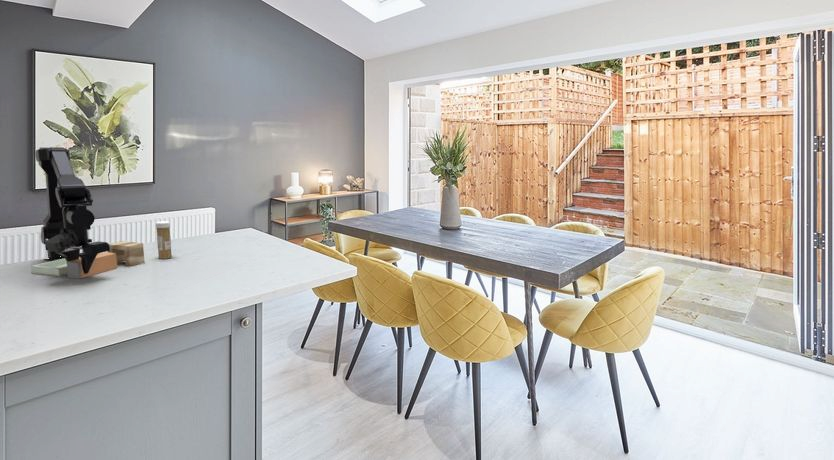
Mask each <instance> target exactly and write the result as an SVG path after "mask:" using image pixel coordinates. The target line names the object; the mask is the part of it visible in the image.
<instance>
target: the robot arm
mask: <svg viewBox="0 0 834 460" xmlns="http://www.w3.org/2000/svg"><path fill="white" fill-rule="evenodd" d="M34 154H35V156H34V157H35V161H36V162H38V166H39V167H40V169H42V171H43V172H44V175H45V185H46V197H47V198H46V200H47V211H48V212H47V213H48V214H47V215H46V216H45V218H44V219H43V220H42V225H43V226H41V230H40V242H41V244H43V245H44V247H45V251H46V252H47V258H49V259H44V258H43V261H49V262H50V261H55V260H59V259H63V258H65V259H66V261H67V262H68V261H73V260H77V259H79V257H80V258H81V261H82V267H83V271H84V274H87V273H88V272H89V270H90V268H91V266H92V263H93V261H94V259H95V258H96V256H97V254H98V253H106V252H108V251H110V245H109V244H110V243H109V242H106V241H99V240H98V241H94V242H93V239H92V238H89V233H88V231H89V230H92V228H91V227H92V225H93V224H94V222H95V219H96V218H95V215H94V213H93V212H92V211H91V210H89V209H88V208H87V207H91V206H93V203H94V199H93V196H92V194H91V191H90V189H89V188H88V186H86V185H85V183H84V181H83V179H81V178H80V177H77V176H76V175H75V171H74V169H73V167H72V164H71V161H72V160H71V153H70V149H68V148H67V147H54V146H50V147H43V146H42V147H39V149H36V150H35V153H34ZM60 256H61V257H60Z"/></svg>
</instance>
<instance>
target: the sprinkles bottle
mask: <svg viewBox="0 0 834 460" xmlns="http://www.w3.org/2000/svg"><path fill="white" fill-rule="evenodd" d="M170 227H171V223H170V221H166V220H165V221H164V220H163V221H162V220H161V221H156V222H155V228H156V241H157V251H158V259H160V260H161V259H162V260H167V259H171V258H172V257H173V255H172V241H171V231H170V230H171V228H170Z"/></svg>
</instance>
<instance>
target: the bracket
mask: <svg viewBox="0 0 834 460" xmlns="http://www.w3.org/2000/svg"><path fill="white" fill-rule="evenodd" d="M108 244H109V245H110V251H107V253H116V257H117V265H118V264H121V263H125V266H126V267H134V266H136V265H140V264H143V263H145V251H144V242H137V241H125V240H121V241H117V242H112V243H111V242H110V243H108Z"/></svg>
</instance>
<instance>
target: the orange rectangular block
mask: <svg viewBox="0 0 834 460" xmlns="http://www.w3.org/2000/svg"><path fill="white" fill-rule="evenodd" d="M117 268H118V264H117V257H116V253H108V251H106V252H102V254H98V255H97V256H96V258H95V259H94V261H93V263H92V266H91V268H90V270H89V272H88V273H87V274H84V271H83V267H82V261H81V259H77V260H73V261H68V262H67V270H68V274H67V278H69V279H78V280H79V279H82V278H86V277H89V276H93V275H97V274H100V273H103V272H107V271H110V270H111V271H112V270H113V269H114V270H115V269H117Z"/></svg>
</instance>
